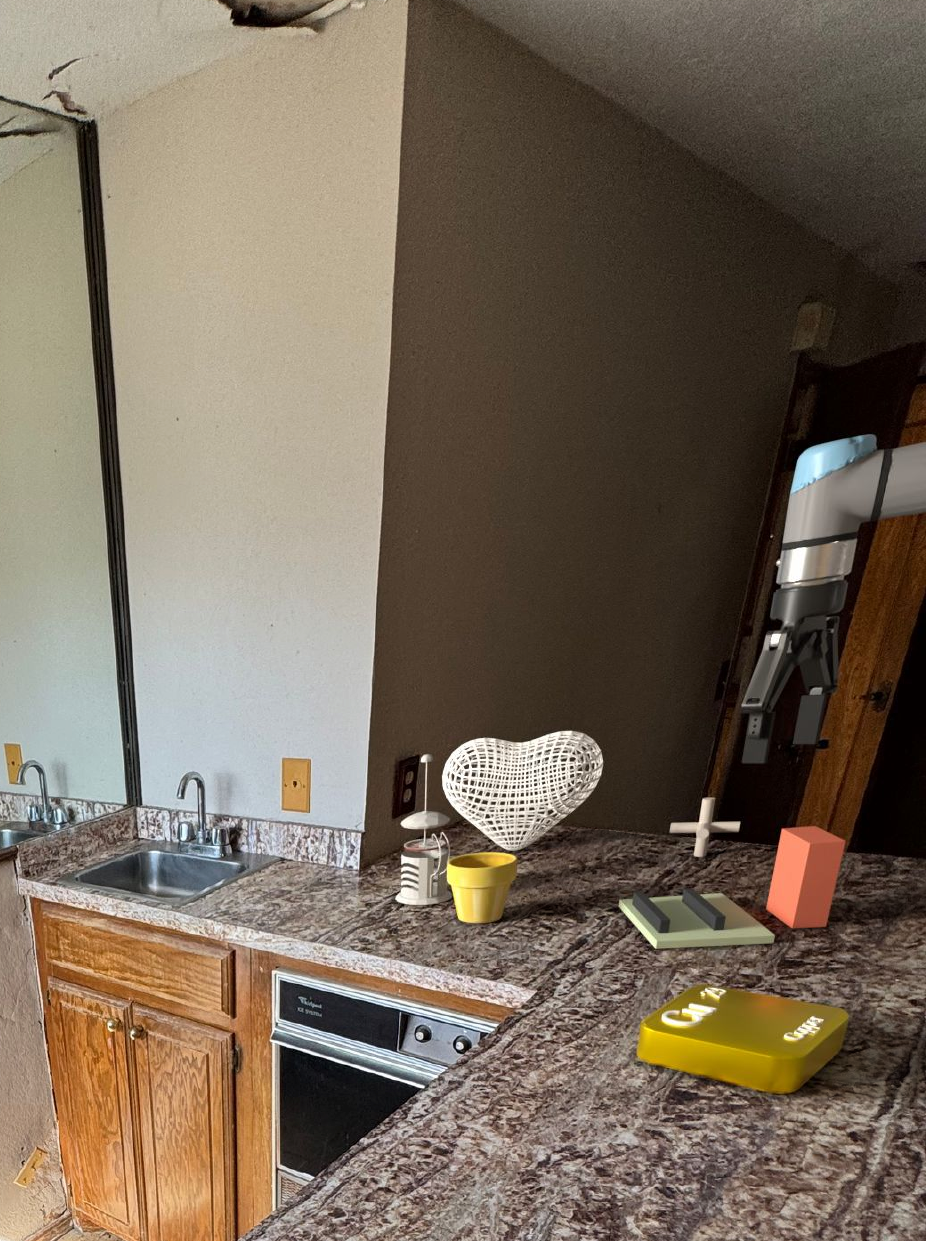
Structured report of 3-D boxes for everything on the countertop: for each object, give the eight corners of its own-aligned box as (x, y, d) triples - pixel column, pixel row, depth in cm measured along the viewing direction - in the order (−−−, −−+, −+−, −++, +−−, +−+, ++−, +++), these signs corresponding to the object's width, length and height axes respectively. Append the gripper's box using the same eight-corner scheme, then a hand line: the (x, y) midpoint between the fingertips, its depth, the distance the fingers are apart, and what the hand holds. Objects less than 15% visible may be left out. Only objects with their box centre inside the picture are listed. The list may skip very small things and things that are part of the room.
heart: (594, 838, 177) (606, 721, 168) (593, 858, 166) (607, 734, 156) (445, 843, 191) (448, 735, 181) (434, 862, 179) (438, 748, 169)
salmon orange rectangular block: (798, 907, 130) (815, 825, 125) (826, 926, 122) (846, 840, 117) (765, 909, 131) (781, 828, 126) (791, 928, 123) (809, 843, 118)
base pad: (720, 900, 137) (724, 880, 136) (773, 943, 120) (778, 921, 119) (618, 906, 141) (620, 887, 140) (655, 949, 124) (658, 927, 123)
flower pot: (448, 908, 153) (450, 852, 149) (515, 907, 148) (518, 849, 144) (442, 927, 145) (444, 869, 141) (512, 927, 140) (516, 867, 136)
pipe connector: (664, 862, 157) (672, 805, 153) (669, 848, 164) (676, 793, 160) (733, 862, 151) (743, 803, 147) (735, 847, 158) (745, 791, 154)
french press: (434, 885, 165) (438, 746, 155) (469, 900, 155) (476, 752, 144) (385, 895, 165) (385, 756, 154) (417, 910, 154) (420, 763, 143)
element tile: (789, 1099, 87) (799, 1056, 85) (628, 1059, 99) (633, 1020, 96) (847, 1046, 94) (858, 1005, 92) (690, 1014, 106) (697, 977, 104)
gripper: (825, 575, 122) (794, 736, 131) (726, 598, 112) (701, 770, 121) (893, 567, 116) (856, 736, 125) (795, 590, 106) (763, 772, 115)
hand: (780, 753), depth 123 cm, fingers open, 13 cm apart
